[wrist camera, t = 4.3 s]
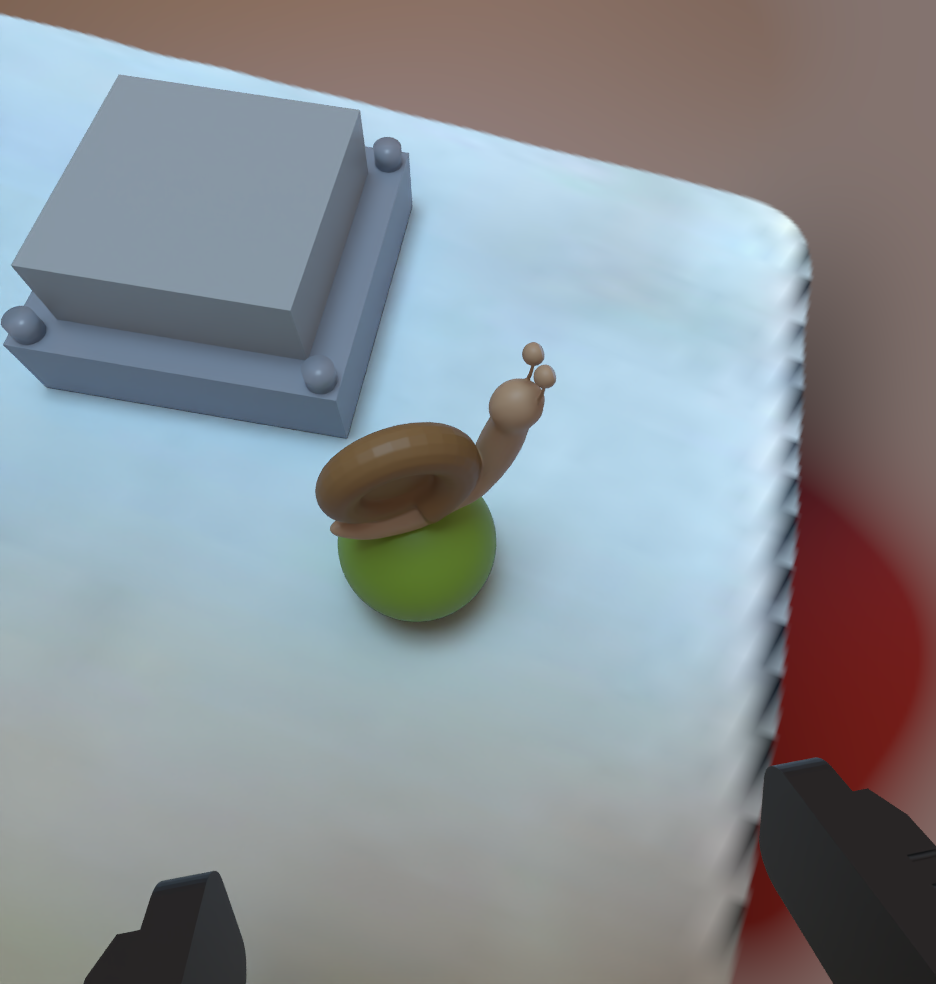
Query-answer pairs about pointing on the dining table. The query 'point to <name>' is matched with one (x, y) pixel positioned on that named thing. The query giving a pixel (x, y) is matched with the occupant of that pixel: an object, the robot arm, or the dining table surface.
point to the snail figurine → (427, 503)
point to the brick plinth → (236, 372)
